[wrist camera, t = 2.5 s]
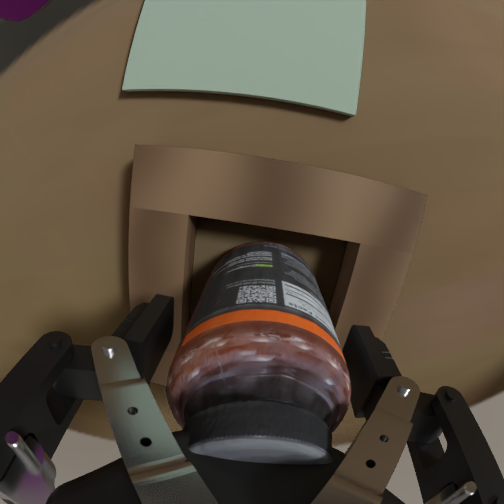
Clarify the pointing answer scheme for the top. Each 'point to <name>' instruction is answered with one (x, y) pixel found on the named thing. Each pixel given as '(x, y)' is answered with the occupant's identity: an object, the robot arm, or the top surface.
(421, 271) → the top surface
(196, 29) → the pad
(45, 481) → the robot arm
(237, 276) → the supplement bottle
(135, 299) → the socket block
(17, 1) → the beverage can
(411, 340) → the top surface
